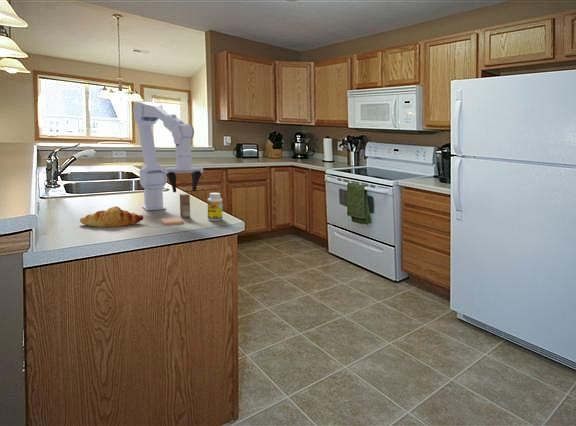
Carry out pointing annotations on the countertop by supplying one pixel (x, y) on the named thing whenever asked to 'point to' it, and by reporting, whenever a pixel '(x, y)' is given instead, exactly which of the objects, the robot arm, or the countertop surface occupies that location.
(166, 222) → the tile
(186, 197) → the wooden rectangular block
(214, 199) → the supplement bottle
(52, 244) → the countertop surface
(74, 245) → the countertop surface
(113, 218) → the croissant
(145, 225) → the countertop surface
